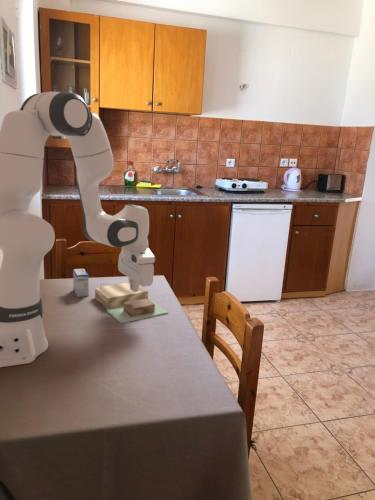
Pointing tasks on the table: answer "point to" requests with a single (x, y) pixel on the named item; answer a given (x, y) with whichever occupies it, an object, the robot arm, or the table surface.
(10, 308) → the robot arm
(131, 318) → the sage green mat
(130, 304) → the walnut tile
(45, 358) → the table surface
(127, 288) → the beech block
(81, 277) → the medicine box
